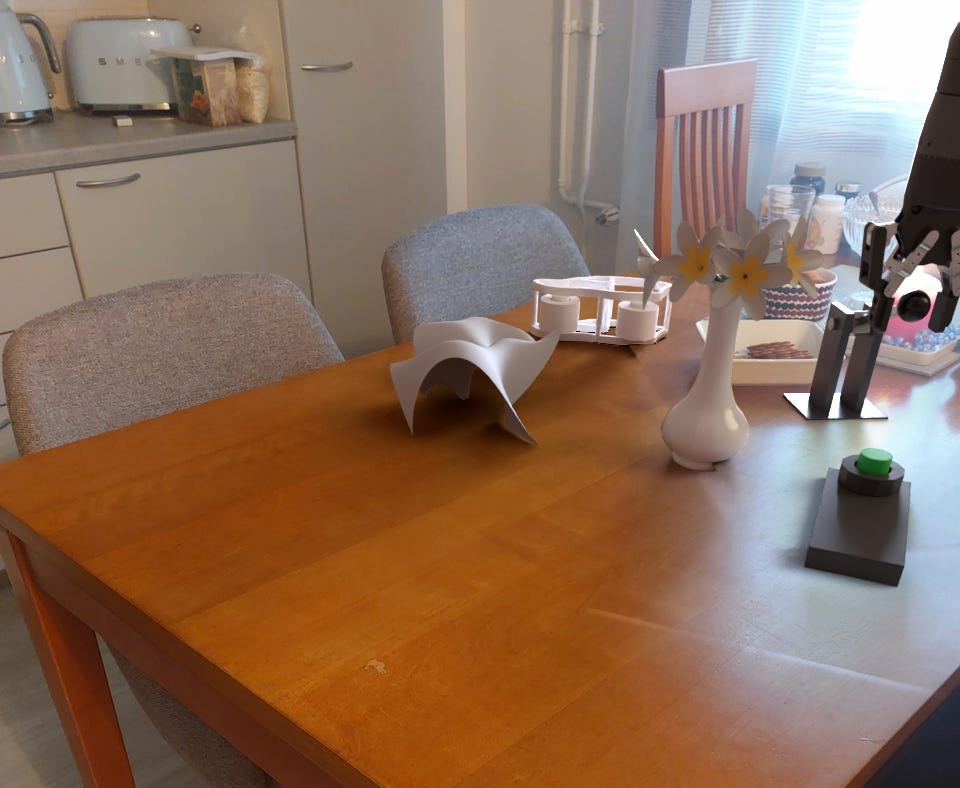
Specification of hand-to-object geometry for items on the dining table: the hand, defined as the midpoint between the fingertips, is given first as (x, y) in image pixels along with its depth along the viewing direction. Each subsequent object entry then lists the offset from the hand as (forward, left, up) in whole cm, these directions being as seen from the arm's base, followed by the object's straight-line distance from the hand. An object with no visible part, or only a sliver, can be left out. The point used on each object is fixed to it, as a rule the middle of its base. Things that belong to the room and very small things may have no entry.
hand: (906, 330), depth 96 cm
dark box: (+10, +18, -14) cm, 25 cm away
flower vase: (+21, +2, -14) cm, 25 cm away
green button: (+7, +12, -10) cm, 17 cm away
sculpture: (+43, -17, -14) cm, 48 cm away
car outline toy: (+23, -41, -14) cm, 49 cm away
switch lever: (0, -5, -2) cm, 5 cm away
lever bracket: (0, -11, -14) cm, 17 cm away
